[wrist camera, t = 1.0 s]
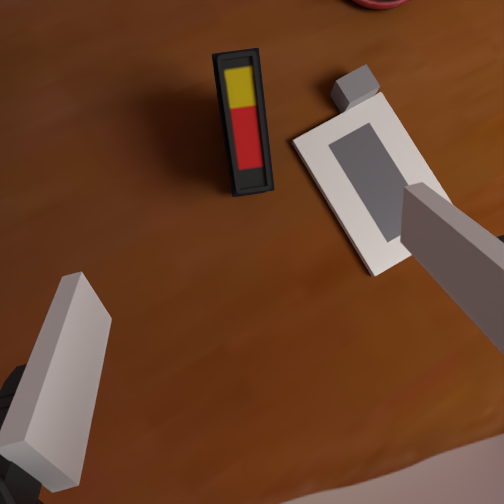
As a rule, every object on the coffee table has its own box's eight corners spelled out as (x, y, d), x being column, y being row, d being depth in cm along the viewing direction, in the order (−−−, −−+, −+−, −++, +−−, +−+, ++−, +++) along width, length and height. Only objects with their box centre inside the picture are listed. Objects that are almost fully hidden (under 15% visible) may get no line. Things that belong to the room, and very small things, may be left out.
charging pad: (279, 122, 43) (281, 109, 40) (364, 76, 43) (373, 60, 40) (371, 276, 41) (381, 275, 38) (459, 225, 42) (476, 220, 39)
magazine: (246, 72, 41) (260, 44, 27) (260, 186, 46) (278, 212, 32) (214, 76, 41) (211, 50, 27) (231, 190, 46) (236, 218, 32)
